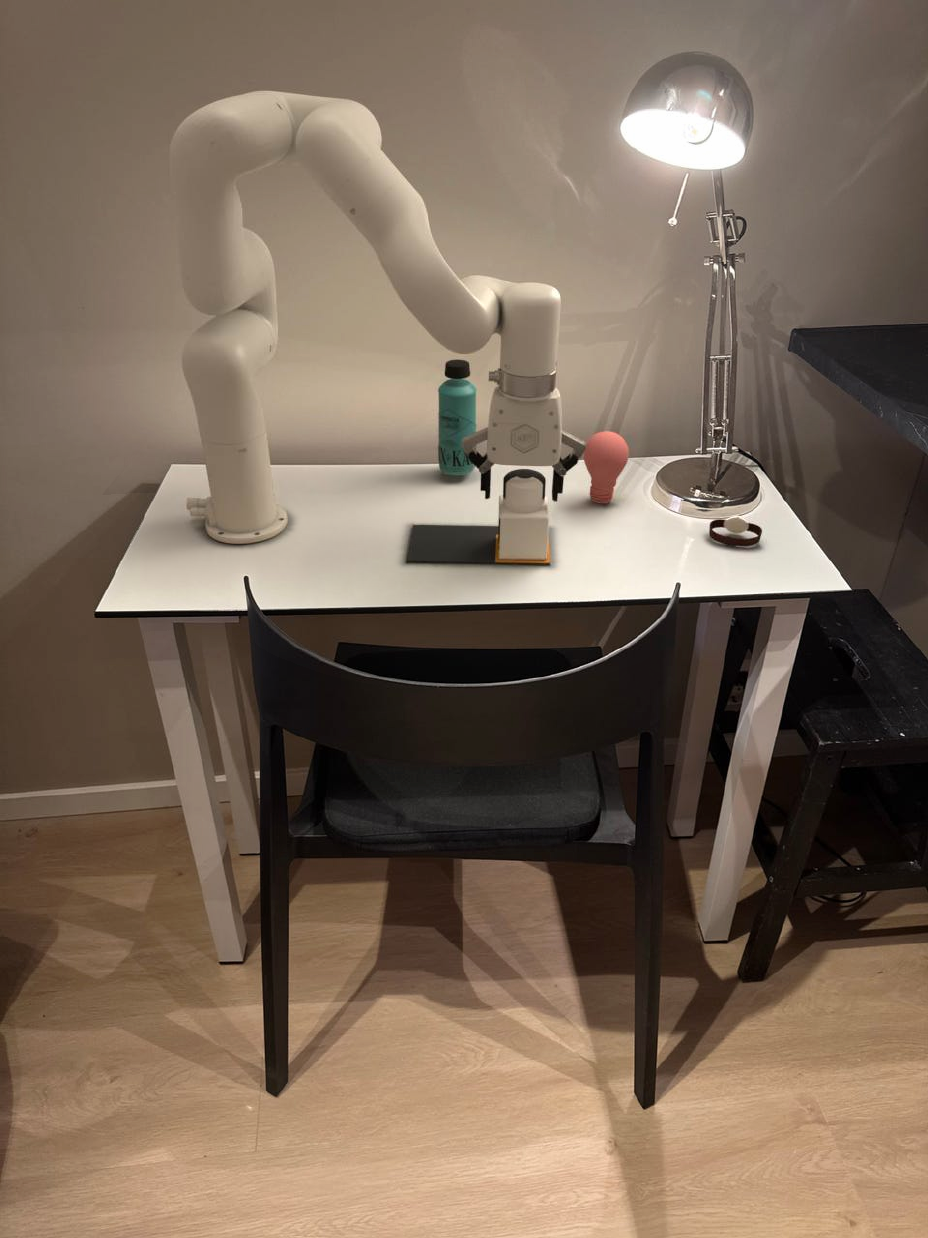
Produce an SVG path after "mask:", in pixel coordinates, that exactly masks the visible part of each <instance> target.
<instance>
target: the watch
mask: <svg viewBox="0 0 928 1238" xmlns="http://www.w3.org/2000/svg"><path fill="white" fill-rule="evenodd" d="M708 528H709V529H708V530H709V531H708V534H709V536H710V538H711V539H712V540H713V541H715V542H717V543H719V544H722V545H726V546H730V547H745V548H746V547H752V546H755V545H757V544H758V543H760V541H761V537H762V533H763V529H762V528H761V526H759V525H758V524H755V523H751V522H748V521H747V520H746V519H745V518H744V517H743V516H740V515H732V516H730V517H728V518H727V519H726V518H725V519H722V518H720V519H717V518H716V519H713V520H712V521H710V522H709V527H708ZM717 528H723V529H726V530H727V531H728V532H729V533H732V534H736V535H737V534H742V533H745V532H750V533H753V534H755V535H757V536H755V537H754V536H753V537H750V538H748V537H747V538H740V537H733V536H731V535H723V534H721V533H718V532H716V531H715V530H713V529H717Z"/></svg>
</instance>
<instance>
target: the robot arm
mask: <svg viewBox="0 0 928 1238" xmlns="http://www.w3.org/2000/svg"><path fill="white" fill-rule="evenodd" d="M382 141H383V137H382V131H381V127H380V124H379V122H378V121H377V118H376V117H375V115H374V114H373V113H372V112H371V110H369V108H367V107H366V106H365V105H363V104H362V103H360V102H358V101H356V100H352V99H347V98H339V97H338V98H337V97H328V96H317V95H310V94H301V93H294V92H286V91H276V90H255V91H250V92H246V93H242V94H238V95H231V96H229V97H225V98H222V99H219V100H216V101H213V102H211V103H208V104H206V105H204V106H202V107H200V108H199V109H197V110H195V111H194V112H192V113H190V114H189V115H188V116H187V117H186V118H185V119H183V121H182V122H181V123H180V124H179V125H178V127H177V128H176V130H175V131H174V134H173V137H172V139H171V141H170V147H169V153H168V154H169V155H168V167H169V168H168V169H169V176H170V177H169V178H170V183H171V189H172V197H173V204H174V214H175V228H176V237H177V246H178V254H179V255H178V256H179V264H180V265H179V266H180V275H181V276H180V277H181V283H182V288H183V291H184V294H185V297H186V299H187V300H188V302H189V303H190V305H191V306H192V307H193V308H194V309H195V310H197V311H198V312H200V313H202V314H204V315H208V316H214V317H212V318H211V319H209V320H208V321H207V322H205V323H204V324H202V325H201V326H199V327H198V328H197V329H196V330H195V331H194V332H193V333H192V334H191V335H190V336H189V338H188V339H187V341H186V342H185V344H184V347H183V349H182V354H181V368H182V372H183V376H184V379H185V382H186V385H187V388H188V391H189V393H190V396H191V399H192V403H193V406H194V410H195V415H196V420H197V425H198V433H199V436H200V441H201V446H202V447H201V448H202V452H203V458H204V465H205V471H206V475H207V481H208V488H209V494H210V496H207V497H206V498H199V497H187V499H186V502H185V507H186V510H187V511H189V515H190V517H205V518H206V519H205V522H204V525H205V531H206V533H207V534H208V536H209V537H210V538H212V539H213V540H216V541H218V542H221V543H225V544H231V545H232V544H234V545H245V544H253V543H258V542H263V541H266V540H269V539H271V538H274V537H275V536H277V535H279V534H281V532H283V530H284V529H286V528H287V525H288V523H289V522H288V521H289V519H288V513H287V511H286V509H284V508H283V507H282V506H281V505H279V504H277V503H276V497H275V489H274V482H273V481H274V479H273V473H272V472H273V471H272V466H271V465H272V464H271V458H270V450H269V443H268V433H267V427H266V421H265V414H264V408H263V406H262V403H261V400H260V398H259V395H258V393H257V390H256V386H255V383H254V380H255V379H254V377H255V376H256V375H258V373H259V372H260V371H261V370H263V368H264V367H265V366H267V364H268V363H270V361H271V360H272V358H273V357H274V355H275V353H276V351H277V348H278V343H279V322H278V320H279V319H278V306H277V305H278V303H277V287H276V284H277V283H276V271H275V270H276V269H275V265H274V261H273V260H274V259H273V257H272V254H271V252H270V250H269V248H268V246H267V243H265V242H264V240H263V239H262V238H261V237H260V236H259V235H258V234H257V233H255V232H254V231H253V230H251V229H249V228H246V227H244V216H243V215H244V214H243V206H242V201H241V198H240V194H239V191H238V189H237V185H236V183H237V180H238V179H239V178H240V177H243V176H245V175H248V174H251V173H255V172H257V171H259V170H260V171H261V170H262V169H265V168H267V167H270V166H271V165H275V164H285V165H292V166H293V165H294V166H302V167H303V168H304V169H305V171H306V172H307V173H308V175H309V176H310V177H311V178H312V180H313V181H314V182H315V183H316V184H317V185H318V186H319V187H320V188H321V189H322V191H323V192H324V193H325V194H326V195H327V196H328V197H329V198H330V200H331V201H332V202H333V203H334V204H335V205H336V206H337V207H338V209H340V211H341V212H342V213H343V214H344V215H345V216H346V218H347V219H348V220H349V221H350V222H351V223H352V224H353V226H354V227H355V228H356V230H357V231H358V232H359V233H360V234H361V235H362V236H363V237H364V238H365V240H366V241H367V242H368V243H369V244H370V246H371V247H372V248H373V250H374V252H375V254H376V257H377V259H378V261H379V263H380V265H381V267H382V269H383V271H384V272H385V275H386V276H387V278H388V280H389V282H390V284H391V286H392V287H393V289H394V291H395V293H396V294H397V297H398V298H399V299H400V300H401V302H402V303H403V304H404V306H405V307H406V308H407V310H408V311H409V312H410V313H411V314H412V316H413V317H414V318H415V319H416V320H417V322H419V324H420V325H421V326H422V327H423V328H424V329H425V330H426V331H427V332H428V334H429V335H430V336H431V337H432V338H433V339H434V340H435V341H436V342H437V343H438V344H440V346H441V347H443V348H445V349H446V350H448V351H450V352H452V353H455V354H459V355H470V354H474V353H476V352H478V351H481V349H483V348H484V347H485V346H486V345H487V344H488V343H489V342H490V340H491V338H492V337H493V335H496V334H498V335H499V337H500V354H499V356H500V357H499V367H498V368H497V370H496V369H495V370H494V371H492V370H489V371H488V382H493V383H494V384H495V383H496V385H497V386H495V388H494V390H493V393H492V396H491V400H490V406H489V414H488V425H487V427H485V428H483V429H480V430H478V431H476V433H473V434H471V435H469V436H467V437H464V438H463V439H462V447H463V449H464V450H465V452H466V454H467V456H468V457H469V460H470V461H471V462H472V463H473V464H474V465H475V468H477V469H478V472H479V473H480V492H484V500H489V499H491V485H492V484H491V483H492V467H493V466H494V465H500V466H517V467H518V466H520V467H552V469H553V470H552V481H551V482H552V483H551V501H553V502H558V499H559V495H560V494H562V495H563V494H564V493H563V491H564V479H565V476H566V475H567V473H568V472H569V471H570V470H571V469H573V468H574V467H575V466H576V465H578V463H579V460H580V459H581V458H582V457H583V453H584V452H585V450H586V443H587V442H586V441H584V440H582V439H580V438H578V437H576V436H575V435H573V434H571V433H569V432H567V431H566V430H563V410H562V409H563V408H562V407H563V406H562V396H561V392H560V390H559V389H558V388H557V387H556V378H557V364H558V351H559V350H558V349H559V336H560V321H561V309H562V304H561V303H562V298H561V294H560V292H559V291H558V289H557V288H556V287H554V286H552V285H549V284H546V283H542V282H533V281H532V282H531V281H530V282H520V283H517V282H514V281H513V282H512V281H507V280H503V279H500V278H496V277H491V276H486V275H481V274H480V275H479V274H473V275H468V276H465V277H463V278H462V279H460V278H459V277H458V276H457V274H456V273H455V272H454V271H453V270H452V268H451V267H450V265H449V264H448V263H447V262H446V260H445V259H444V257H443V256H442V253H441V252H440V250H439V248H438V247H437V244H436V241H435V239H434V237H433V235H432V231H431V228H430V227H431V226H430V220H429V214H428V210H427V206H426V204H425V202H424V199H423V198H422V196H421V194H420V193H418V191H417V190H416V189H415V188H414V186H413V185H412V184H411V183H410V182H409V181H408V179H407V178H406V177H405V176H404V175H403V174H402V172H400V170H399V169H398V168H397V167H396V165H395V164H394V163H393V162H392V161H391V159H390V158H389V157H388V156H387V155H386V154H385V152H384V151H383V150H382V149H381V148H382V143H383V142H382ZM485 441H486V452H485V454H484V455H481V453H480V452H478V451H477V449H476V448H475V447H474V445H476V446H477V445H479V444H481V443H483V442H485ZM562 444H564V445H566V446H568V447H569V448H571V449H572V450H571V452H570V453H569V454H568V455H566V456H565V457H564V458H563V457H562V456H561V454H562V453H561V452H562Z"/></svg>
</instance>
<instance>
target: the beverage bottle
mask: <svg viewBox="0 0 928 1238" xmlns="http://www.w3.org/2000/svg"><path fill="white" fill-rule="evenodd" d="M470 369H471V368H470V362H469V361H467V360H465V359H457V358H456V359H450V360H447V361H446V362H445V364H444V376H445V377H446V378H448V379H447V380H445V381H444V382H442V383H441V385H439V386H438V388H437V392H438V425H437V429H438V435H437V439H438V445H437V459H438V460H437V462H438V468H439V469H440V471H441V473H444V474H446V475H449V476H464V475H467V474H470V473H472V472H473V471H474V470H475V468H476V466H475V465H474V464H473V463H472V462H471V461H470V460H469V457H468V456H467V454H466V452H465V450H464V449H463V447H462V439H463V438H464V437H467V436H469V435H471V434H473V433H476V432H477V427H478V425H477V422H476V419H477V387H476V386H475V385H474V384H473V383H472V382H471V381H469V380H467V378H469V377H470V376H471V370H470ZM474 447H475V449H477V444H476V445H474Z"/></svg>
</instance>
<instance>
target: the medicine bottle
mask: <svg viewBox="0 0 928 1238" xmlns="http://www.w3.org/2000/svg"><path fill="white" fill-rule="evenodd" d="M502 479H503V481H502V494H500V495H499V496H498V521H497V523H498V525H497V526H498V558H499V559H518V560H546V559H547V550H548V533H549V531H550V530H549V528H550V513H549V500H548V496H547V495H546V483H547V479H546V477H545V475H544V474H542V472H539V471H537V470H534V469H531V468H518V469H514V470H511V471H509V472H507V473H506V474H505V475H504V476H503V478H502Z"/></svg>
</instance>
